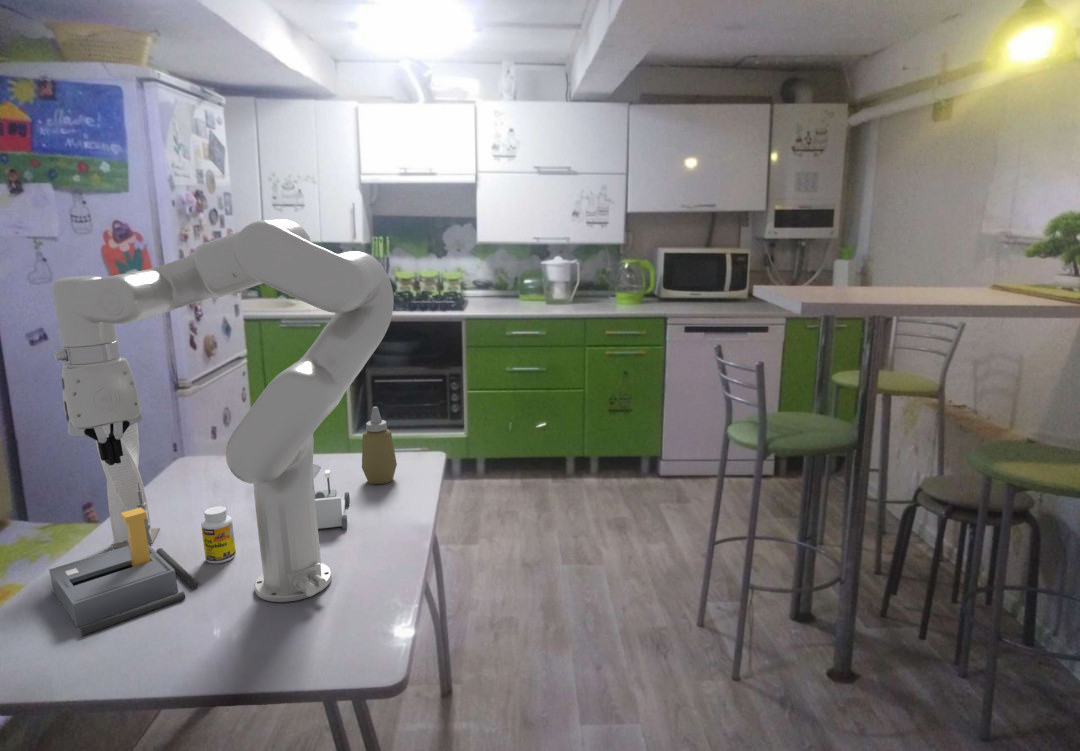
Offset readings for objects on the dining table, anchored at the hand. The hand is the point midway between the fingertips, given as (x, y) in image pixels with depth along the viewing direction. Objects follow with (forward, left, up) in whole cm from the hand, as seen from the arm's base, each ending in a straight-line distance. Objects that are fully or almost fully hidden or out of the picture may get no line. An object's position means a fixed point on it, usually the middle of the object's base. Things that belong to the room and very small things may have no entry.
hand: (112, 462), depth 121 cm
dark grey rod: (0, -7, -23) cm, 24 cm away
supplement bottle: (-1, -15, -23) cm, 27 cm away
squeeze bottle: (+11, -57, -23) cm, 62 cm away
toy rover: (+4, -37, -23) cm, 44 cm away
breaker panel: (0, +3, -23) cm, 23 cm away
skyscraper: (+20, -6, -23) cm, 31 cm away
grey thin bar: (-11, +3, -23) cm, 25 cm away
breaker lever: (0, -2, -20) cm, 20 cm away
